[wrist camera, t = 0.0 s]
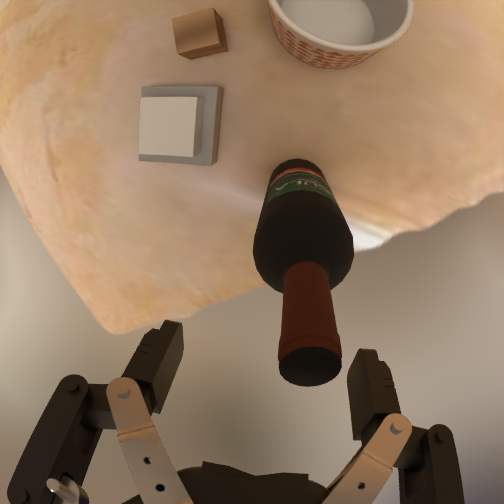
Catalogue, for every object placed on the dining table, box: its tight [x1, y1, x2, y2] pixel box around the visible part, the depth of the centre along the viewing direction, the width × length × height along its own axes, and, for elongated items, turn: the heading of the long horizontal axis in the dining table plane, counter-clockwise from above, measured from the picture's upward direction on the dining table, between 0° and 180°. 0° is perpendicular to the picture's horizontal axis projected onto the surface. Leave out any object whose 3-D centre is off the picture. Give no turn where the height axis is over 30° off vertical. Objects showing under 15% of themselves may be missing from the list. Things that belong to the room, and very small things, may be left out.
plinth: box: [139, 86, 223, 166], centre depth 34 cm, size 10×10×6 cm
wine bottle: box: [253, 159, 354, 387], centre depth 25 cm, size 8×8×30 cm
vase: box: [268, 0, 414, 69], centre depth 22 cm, size 14×14×13 cm
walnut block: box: [172, 8, 228, 60], centre depth 28 cm, size 5×5×5 cm
